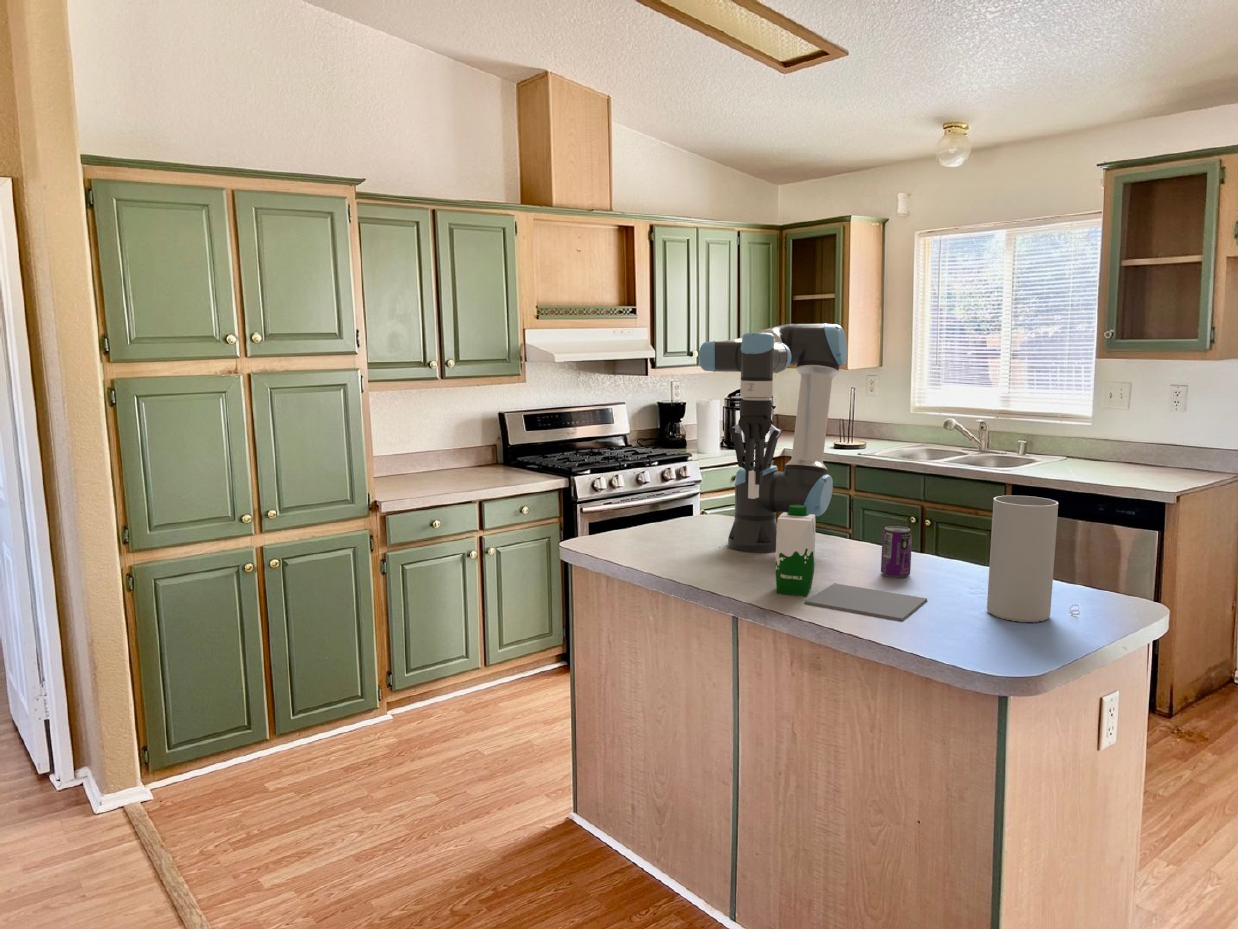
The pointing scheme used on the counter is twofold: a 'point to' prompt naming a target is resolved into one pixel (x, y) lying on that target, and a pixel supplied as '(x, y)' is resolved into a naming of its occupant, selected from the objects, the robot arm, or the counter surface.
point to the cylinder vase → (1022, 558)
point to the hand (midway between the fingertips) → (753, 497)
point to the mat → (867, 601)
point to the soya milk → (795, 551)
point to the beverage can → (896, 552)
